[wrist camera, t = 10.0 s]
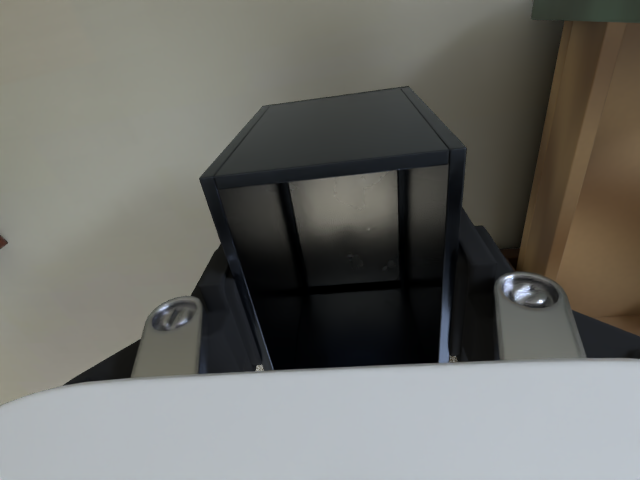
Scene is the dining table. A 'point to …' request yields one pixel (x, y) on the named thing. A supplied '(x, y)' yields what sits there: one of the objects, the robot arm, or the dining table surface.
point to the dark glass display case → (343, 229)
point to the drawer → (590, 163)
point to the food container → (2, 242)
